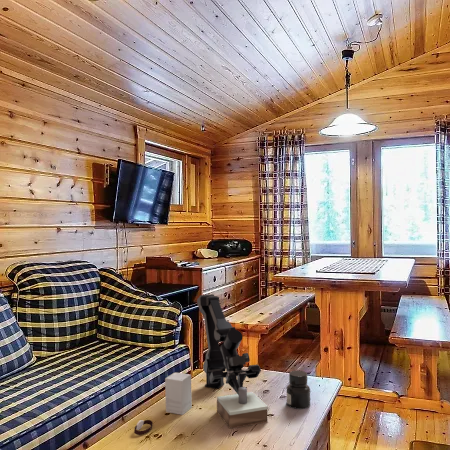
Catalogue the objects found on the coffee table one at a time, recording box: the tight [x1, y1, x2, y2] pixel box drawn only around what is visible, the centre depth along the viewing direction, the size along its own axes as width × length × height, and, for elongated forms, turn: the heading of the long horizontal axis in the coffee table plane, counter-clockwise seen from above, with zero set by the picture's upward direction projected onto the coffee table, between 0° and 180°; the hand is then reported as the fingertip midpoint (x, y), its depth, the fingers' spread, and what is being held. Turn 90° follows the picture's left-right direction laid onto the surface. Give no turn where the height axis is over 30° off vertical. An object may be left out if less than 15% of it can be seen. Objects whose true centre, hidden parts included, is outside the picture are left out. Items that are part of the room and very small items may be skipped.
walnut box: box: [216, 399, 269, 429], centre depth 162 cm, size 14×14×4 cm
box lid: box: [216, 386, 269, 415], centre depth 162 cm, size 14×14×6 cm
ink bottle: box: [286, 370, 311, 410], centre depth 172 cm, size 10×9×12 cm
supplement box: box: [164, 372, 193, 416], centre depth 169 cm, size 7×7×13 cm
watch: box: [133, 419, 154, 436], centre depth 153 cm, size 8×5×4 cm, turn 150°
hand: (241, 396), depth 163 cm, fingers closed, pressing on box lid
